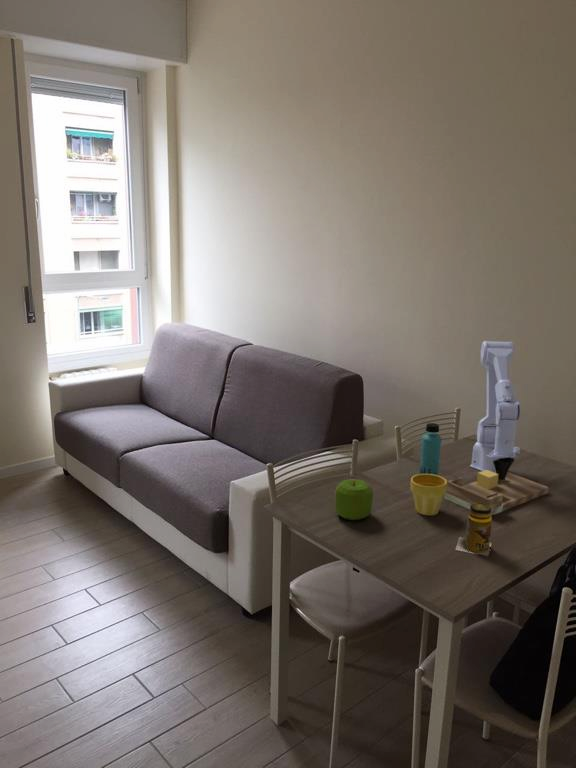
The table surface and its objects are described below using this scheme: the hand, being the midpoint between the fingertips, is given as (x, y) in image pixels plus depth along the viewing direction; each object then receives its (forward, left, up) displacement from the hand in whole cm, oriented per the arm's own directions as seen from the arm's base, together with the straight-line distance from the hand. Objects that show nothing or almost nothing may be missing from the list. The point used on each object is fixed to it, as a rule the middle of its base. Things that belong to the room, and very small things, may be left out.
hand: (500, 478), depth 208 cm
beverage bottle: (-16, -16, -3) cm, 23 cm away
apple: (-12, -52, -3) cm, 54 cm away
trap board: (+3, -6, -3) cm, 8 cm away
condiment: (+20, -38, -3) cm, 44 cm away
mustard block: (-1, -6, -1) cm, 6 cm away
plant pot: (-2, -32, -3) cm, 32 cm away
